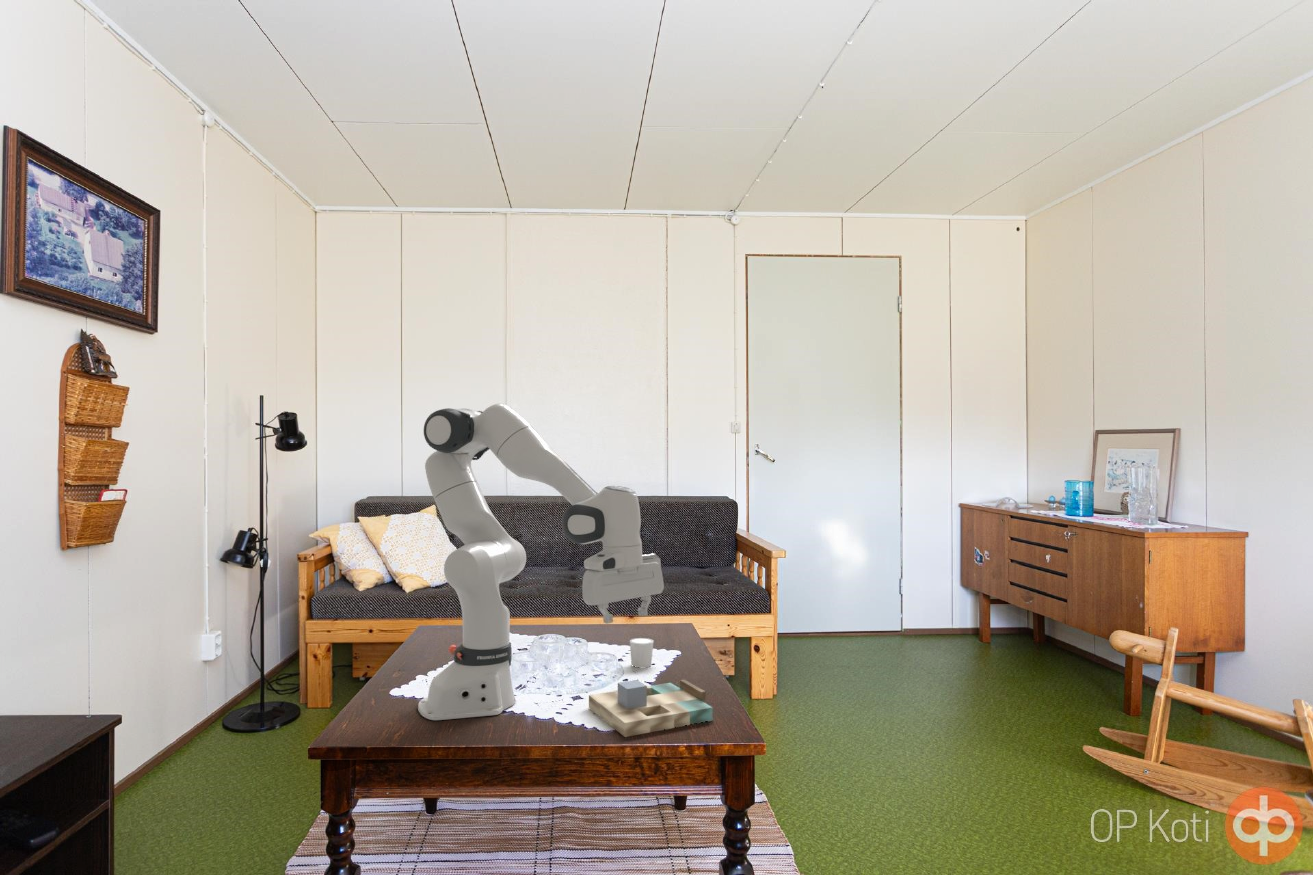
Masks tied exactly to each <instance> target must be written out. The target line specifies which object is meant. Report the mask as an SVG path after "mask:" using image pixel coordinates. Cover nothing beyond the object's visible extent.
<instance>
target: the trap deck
mask: <svg viewBox="0 0 1313 875" xmlns="http://www.w3.org/2000/svg"><path fill="white" fill-rule="evenodd" d="M646 686H647V706H643V707H637V708H631V709H626V708H625V707H623V706H622V705H620V704H619V703H618V690H613V691H608V692H601V693H594V694H590V695H588V709H589V708H590V710H591V711H592V710H593V711H594V712H595V713H594V712H593V711H592V712H593V713H594V714H595V715H597V714H598V715H599V716H600V717H599V716H598V715H597V716H598V717H599V718H601V719H602V720H603V719H604V720H605V723H607V724H608V723H609V724H608V725H609V726H610V727H612V728H613V729H614V730H616V731H617V732H618V733H620V734H621V735H622V736H623V737H625V738H628V737H633V736H638V735H644V734H648V733H655V732H659V731H664V729H665V730H670V729H675V727H676V728H681V727H685V725H687V726H691V725H690V724H692V725H695V724H694V723H697V724H702V723H701V722H703V723H706V722H705V721H708V722H712V721H713V720H714V719H713V712H714V711H713V710H714V708H713V706H711V705H709V704H708V703H707V700H706V699H707V698H706V695H707V694H706V693H707V692H706V690H704V689H702V688H701V687H698V686H697V685H695V684H693V683H691V682H690V681H688V680H687V679H680V680H679V686H677V685H676V684H674V683H672V682H666V683H665V682H664V683H659V684H653V685H646ZM604 720H603V721H604Z"/></svg>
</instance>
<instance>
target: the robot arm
mask: <svg viewBox="0 0 1313 875" xmlns="http://www.w3.org/2000/svg"><path fill="white" fill-rule="evenodd" d="M423 437H424V440H425V442H426V443H427V445H428V446H429V447H430V448H432V449H433V450H435V451H434V452H432V453H431V454H430V455H429V456H428V457H427V459H426V460H425V463H424V468H425V475H426V479H427V482H428V486H429V489H430V491H431V492H430V493H431V495H432V497H433V499H434V502H435V505H436V508H437V509H438V511H439V514H440V517H441V518H442V521H443V524H444V526H445V527H446V529H447V530H448V531H449V532H450V533H451V534H453V535H455V536H456V537H458V538H459V539H460V541H461V542H462V543H463V545H462V546H460V547H459V548H456V549H455V550H453V551H452V552H451V553H449V554H448V556H447V557H446V559H445V561H444V565H443V566H444V567H443V573H444V578H445V579H446V582H447V583H448V584H449V586H450V587H451V588H453V590H454V591H455V592H456V594H457V598H458V600H459V603H460V609H461V614H462V615H461V617H462V643H461V644H460V645H459V646H458V647H457V646H456V645H455V644H451V645H449V647H448V652H449V653H450V654H451V655H452V656H453V662H451V663H450V664H449V665H448V666H447V667H445V669H443V670H442V671H441V672H440V673H438V674H437V675H436V676H434V677H433V679H432V680H431V682H430V685H429V688H428V692H427V694H428V695H427V697H424V698H422V699H420V700H419V702H418V705H417V710H418V712H419V714H420V715H421V716H422V717H424V718H425V719H427V720H431V721H442V720H444V721H445V720H453V719H456V720H457V719H466V718H476V717H477V718H479V717H486V716H496V715H499V714H501V713H503V711H504V710H506V709H508V708H510V707H512V706H513V705H514V704H515V703H516V697H515V693H514V690H513V684H512V675H511V665H512V657H513V656H512V655H513V652H512V643H511V641H510V634H511V633H510V628H511V627H510V621H511V620H510V619H511V618H510V617H511V614H510V609H509V607H508V606H506V604H504V602H503V600H502V597H501V593H500V584H502V583H505V582H508V581H511V580H512V579H514V578H515V577H516V576H517V575H519V574H520V573H521V572H522V571H523V570H524V568H525V566H526V563H527V553H526V549H525V547H524V546H523V545H522V544H521V543H520V542H519V541H518V540H516V539H515V538H513V537H512V536H510V534H509V533H508V532H507V531H506V529H504V527H503V526H502V525H501V524H500V523H501V522H499V521H498V519H497V518H496V517H495V516H494V514H493V512H492V511H491V509H490V507H489V505H488V502H487V501H486V498H485V496H484V494H483V492H482V490H481V488H480V485H479V483H478V481H477V478H476V476H475V474H474V472H473V469H472V461H478V460H479V459H481V458H482V456H483V455H484V454H486V453H487V452H488V451H489V450H490V451H491V452H492V453H493V455H494V456H495V457H496V458H497V459H498V460H499V461H500V463H501V464H502V465H503V466H504V467H505V468H506V469H508V471H510V472H511V473H512V474H514V475H515V476H517V477H518V478H521V479H526V480H531V481H536V482H539V483H542V484H545V485H548V486H549V487H552V488H553V489H554V490H556V491H557V492H558V493H559V494H561V496H562V497H563V498H564V499H565V500H566V501H567V502H569V503H570V506H568V507H567V509H566V510H564V512H563V514H562V517H561V528H562V533H563V534H564V536H565V538H566V539H567V540H569V542H572V543H574V544H578V545H587V544H593V543H597V542H602V550H600V551H598V552H597V553H596V554H594V555H592V556H589V557H588V558H586V559H585V560H584V561H583V567H584V569H586V571H585V572H584V573H583V576H582V590H581V592H582V600H583V602H584V603H585V604H586V605H588V606H597V608H598V610H599V611H600V613H601V615H602V617H603V618H602V619H603V623H604V624H610V623H613V622H614V615H613V614H611V613H609V611H608V608H609V604H610V603H615V602H621V601H626V600H631V599H637V598H640V599H641V600H642V601H641V605H640V607H638V608H637V616H638V617H646V616H648V608H649V606H650V604H651V602H652V596H654V595H659V594H662V593H663V591H664V589H665V584H664V577H663V573H662V571H663V570H662V564H661V563H662V562H661V558H660V557H659V556H658V555H656V553H649V554H643V542H642V538H641V532H640V531H641V528H642V527H641V525H642V520H641V519H642V518H641V508H640V503H639V502H640V501H639V497H638V495H637V493H636V491H635V490H633V489H632V488H629V487H626V486H620V485H618V486H616V485H608V486H605V487H603V488H602V489H601V491H599V492H598V491H597V492H596V490H595V489H593V488H592V486H591V485H590V484H589V483H588V482H586V481H585V480H584V479H583V477H581V476H580V475H579V474H578V473H577V472H576V471H575V470H574V469H573V468H572V467H571V466H570V465H569V464H568V463H567V462H566V461H564V460H563V459H562V458H561V457H560V455H558V454H557V453H556V451H554V449H553V448H552V447H551V446H549V444H548V443H547V442H546V441H545V440H544V439H543V437H542V436H541V435H540V434H539V433H538V431H537V430H535V429H534V427H533V426H532V425H531V424H530V423H529V422H528V421H527V420H526V419H525V418H524V417H523V416H521V415H520V414H519V413H518V412H517V411H516V410H514V409H513V408H511V407H510V406H509V405H507V404H504V403H495V404H491V405H489V407H487V408H485V409H484V410H483V411H481V410H475V409H470V408H449V407H448V408H441V409H438V410H435V411H434V412H431V414H429V415H428V417H427V418H426V420H425V422H424V425H423Z"/></svg>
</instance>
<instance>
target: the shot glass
mask: <svg viewBox="0 0 1313 875" xmlns="http://www.w3.org/2000/svg"><path fill="white" fill-rule="evenodd" d="M654 642H655V640H654V639H651V638H648V637H647V638H646V637H638V638H637V637H635V638H632V639H630V640H629V647H630V648H629V649H630V650H629V651H630V662H631V666H632V665H633V666H636V667H648V666H650V665H651V666H652V660H653V650H654ZM633 666H632V667H633ZM651 666H650V667H651ZM648 668H649V667H648Z"/></svg>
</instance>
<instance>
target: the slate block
mask: <svg viewBox="0 0 1313 875" xmlns="http://www.w3.org/2000/svg"><path fill="white" fill-rule="evenodd" d="M647 686H648V685H646V684H644V683H643V682H641V681H640V680H638V679H635V680H628V681H620V682H617V691H618V703H619V704H620V705H622V706H623V707H625V708H626V709H631V708H637V707H643V706H647Z"/></svg>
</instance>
